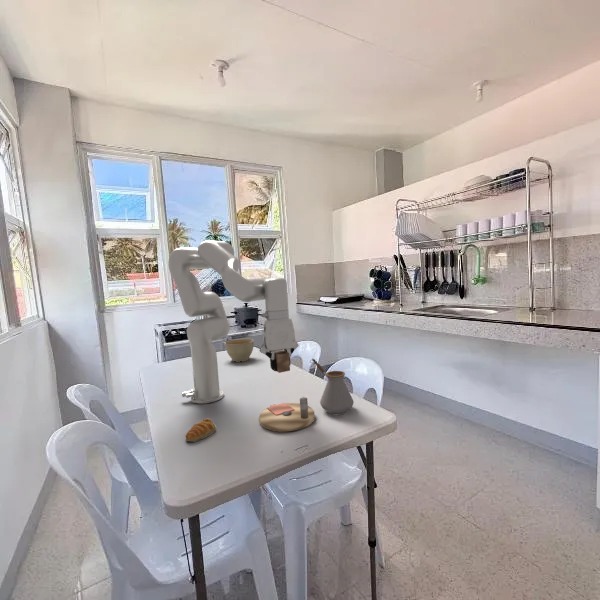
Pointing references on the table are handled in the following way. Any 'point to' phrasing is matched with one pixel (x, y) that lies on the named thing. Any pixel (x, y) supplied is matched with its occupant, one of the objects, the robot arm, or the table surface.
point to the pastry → (201, 430)
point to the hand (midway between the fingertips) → (280, 368)
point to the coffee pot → (335, 393)
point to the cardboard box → (282, 361)
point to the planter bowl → (239, 349)
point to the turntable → (287, 416)
